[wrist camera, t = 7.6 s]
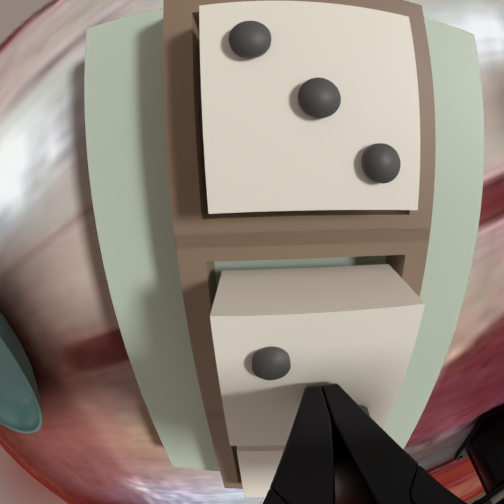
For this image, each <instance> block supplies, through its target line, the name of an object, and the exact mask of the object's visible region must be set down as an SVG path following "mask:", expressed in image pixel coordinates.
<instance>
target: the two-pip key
mask: <svg viewBox="0 0 504 504" xmlns="http://www.w3.org/2000/svg"><path fill="white" fill-rule="evenodd" d="M424 307H425V303H424V302H423V301H422V300H421V299H420V297H419V296H418V295H417V294H416V293H415V292H414V291H413V290H412V289H411V287H410V286H409V285H408V284H407V283H406V282H405V281H404V280H403V279H402V278H401V277H400V276H399V275H398V273H397V272H396V271H395V270H394V269H393V268H392V267H391V266H390V265H389V264H380V265H359V266H336V267H311V268H285V269H254V270H222V273H221V277H220V281H219V284H218V288H217V292H216V295H215V299H214V303H213V306H212V310H211V314H210V321H211V329H212V336H213V344H214V351H215V358H216V365H217V371H218V378H219V384H220V391H221V397H222V403H223V409H224V415H225V421H226V427H227V432H228V438H229V443H230V446H272V445H286V443H287V440H288V437H289V434H290V432H291V429H292V426H293V423H294V420H295V417H296V414H297V411H298V407H299V404H300V401H301V398H302V395H303V392H304V389H305V387H306V386H308V385H321V386H322V385H323V384H332V383H337V384H338V385H339V386H340V387H341V388H342V389H343V390H344V391H345V392H346V393H347V394H348V395H349V396H350V397H351V398H352V399H353V400H354V401H355V402H356V403H357V404H358V405H359V406H360V407H361V408H362V409H363V410H364V411H365V412H366V413H367V414H368V415H369V416H370V417H371V418H372V419H373V420H374V421H375V422H376V423H377V424H378V425H379V426H380V427H381V428H382V429H383V430H385V428H386V426H387V423H388V421H389V418H390V416H391V413H392V411H393V408H394V406H395V403H396V400H397V398H398V395H399V392H400V389H401V386H402V384H403V381H404V378H405V375H406V372H407V369H408V365H409V362H410V359H411V356H412V352H413V349H414V346H415V342H416V338H417V335H418V331H419V327H420V323H421V319H422V315H423V311H424Z"/></svg>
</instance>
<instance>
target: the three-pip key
mask: <svg viewBox="0 0 504 504" xmlns="http://www.w3.org/2000/svg"><path fill="white" fill-rule="evenodd" d="M199 29H200V74H201V101H202V123H203V142H204V158H205V174H206V188H207V202H208V214H217V213H239V212H267V211H305V210H418V199H419V181H420V109H419V92H418V79H417V69H416V60H415V52H414V45H413V38H412V31H411V25H410V20H409V17H408V16H404V15H399V14H395V13H390V12H385V11H380V10H375V9H369V8H363V7H357V6H349V5H341V4H332V3H322V2H307V1H243V2H228V3H218V4H208V5H200V6H199Z"/></svg>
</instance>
